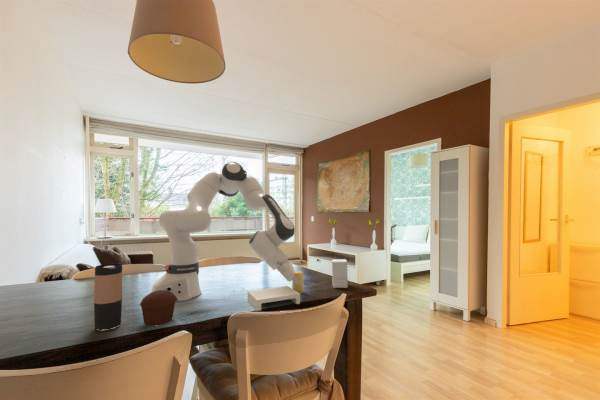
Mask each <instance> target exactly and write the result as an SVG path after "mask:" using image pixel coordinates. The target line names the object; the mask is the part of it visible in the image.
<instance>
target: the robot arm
mask: <svg viewBox="0 0 600 400" xmlns="http://www.w3.org/2000/svg"><path fill="white" fill-rule="evenodd" d="M247 173H248V172H247V171H246V170H245V169H244V168H243V166H242V165H241V164H240V163H238V162H236V161H228V162H226V163H225V164H224V165H223V167H222V169H221V173H217V172H215V171H213V170H212V171H211V170H210V171H206V172H205V173H204V174H203V175H201V176H200V178H199V179H198V180H197V181H196V182H195V184H194V185H193V187H191V189H190V191H189V192H188V194H187V201H188V205H187V206H185V207H182V208H181V207H174V208H169V209H166V210H164V211H162V212H161V213H160V215H159V221H158V222H159V225H160V227H161V229H162V230H164V231H165V233H166V235H167V238H168V241H169V244H170V252H171V253H170V258H171V259H170V261H171V263H170V264H169V263H166V264H165V265H164V268H165V272H166V273H164V275H162V276H161V277H160V278H158V279H157V280H156V281H154V283H153V285H152V288H151V291H150V293H151V292H154V291H158V290H167V291H170V292H172V293H173V294H174V295H175V296H176V297H177V299H178V300H177V301H176V302H183V301H189V300H190V299H191V300H192V299H193V298H196V297H198V296H200V295H201V294H202V290H201V286H200V282H199V281H200V280H199V273H200V264H199V261H198V259H199V256H198V255H199V254H198V251H199V250H198V249H199V246H198V244H197V242H195V241H194V240H193V239H192V236H191V234H190V233H192V234H193V233H195V234H196V233H200V232H204V231H207V230H208V228H209V227H210V225H211V224H212V223H211V222H212V217H211V215H210V213H209V208H210V205H211V204H212V202H213V200H214V198H215V197H216V195H217V194H221V195H222V196H225V197H228V198H230V197H231V198H232V197H235V196H237V195H238V193H239V192H240V195H242V198H243V200H244V202H245V204H246V207H248V209H250V210H251V211H255V212H259V211H263V210H266V209H267V211H268V212H269V214H270V215H271V217H272V219H273V221H274V223H273V225H272V226H271V227H270V228H269V229H267V230H264V231H260V230H257V231H255V233H254V234H252V236H251V237H250V238H249V242H248V244H249V246H250V248H251V249H252V250H253V251H254V252H255V254H256V255H258V257H260V258H262V259H263V261H264V262H265V263H266V265H268V266H269V267H270V268H271V269H272V270H273V271H275V270H277V271H278V272H279V273H280V274H281V276H283V277H284V278H285V280H286V281H288V282H289V283H291V282H292V281H293V282H295V283H296V284H297V285H299V284H300V283H301V282H300V281H299V279H297V278H296V277H295V273H294V272H295V269H294V268H295V267H294V265H293V264H292V263H291V262H290V261H289V260H288V258H287V257H288V256H287V254H286V253H284V251H283V250H282V249H281V248H280V247H281V246H282V245H284V243H285V242H287V241H288V240H289V239H290V238H292V237H294V235H295V232H296V231H295V230H296V229H295V225H294V223H293V222H292V220H290V218H289V217H288V216H286V214H285V213H284V212H285V211H283V210H282V208H281V206H280V205H279V204H278V202H277V201H276V200H275V198H273V196H271V195H270V194H268V193H265V191H264V189H263V187H262V185H261V184H260V182H259V181H258V180H257V178H256V177H254V176H247V175H248V174H247Z"/></svg>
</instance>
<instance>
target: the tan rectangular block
mask: <svg viewBox="0 0 600 400" xmlns="http://www.w3.org/2000/svg"><path fill="white" fill-rule="evenodd" d="M294 271H295V270H294ZM294 273H295V277H296V278H297V279H299V281H300V282H301V283H300V284H299V285H297V284H296V283H295V282H293V281H292V280H291V282H292V284H291V285H292V286H291V288H292V289H293V290H295V291H297V292H298V293H300V295H302V294H304V272H303V271H300V270H299V271H295V272H294Z"/></svg>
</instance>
